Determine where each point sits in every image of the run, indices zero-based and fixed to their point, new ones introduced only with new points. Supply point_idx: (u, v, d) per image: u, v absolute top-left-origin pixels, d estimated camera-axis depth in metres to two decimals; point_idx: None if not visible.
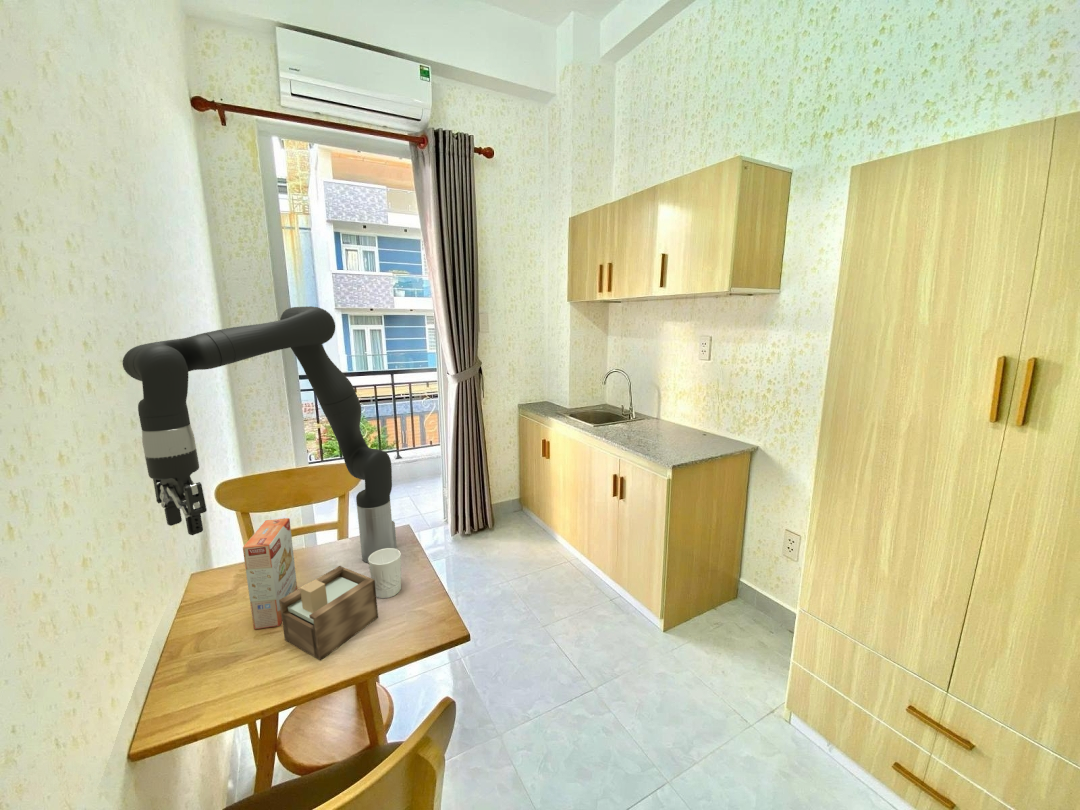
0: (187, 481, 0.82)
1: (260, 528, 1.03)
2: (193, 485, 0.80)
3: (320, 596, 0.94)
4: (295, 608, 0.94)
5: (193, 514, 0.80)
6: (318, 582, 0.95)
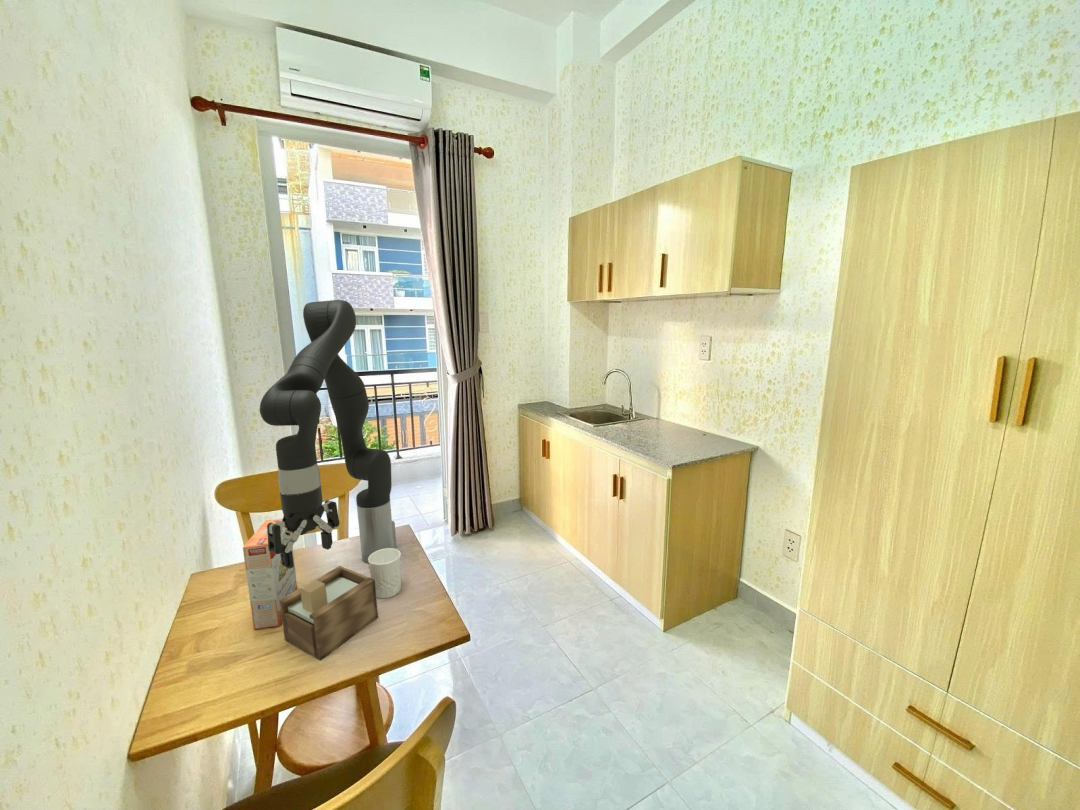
0: None
1: (260, 528, 1.03)
2: (332, 501, 0.96)
3: (320, 596, 0.94)
4: (295, 608, 0.94)
5: None
6: (318, 582, 0.95)
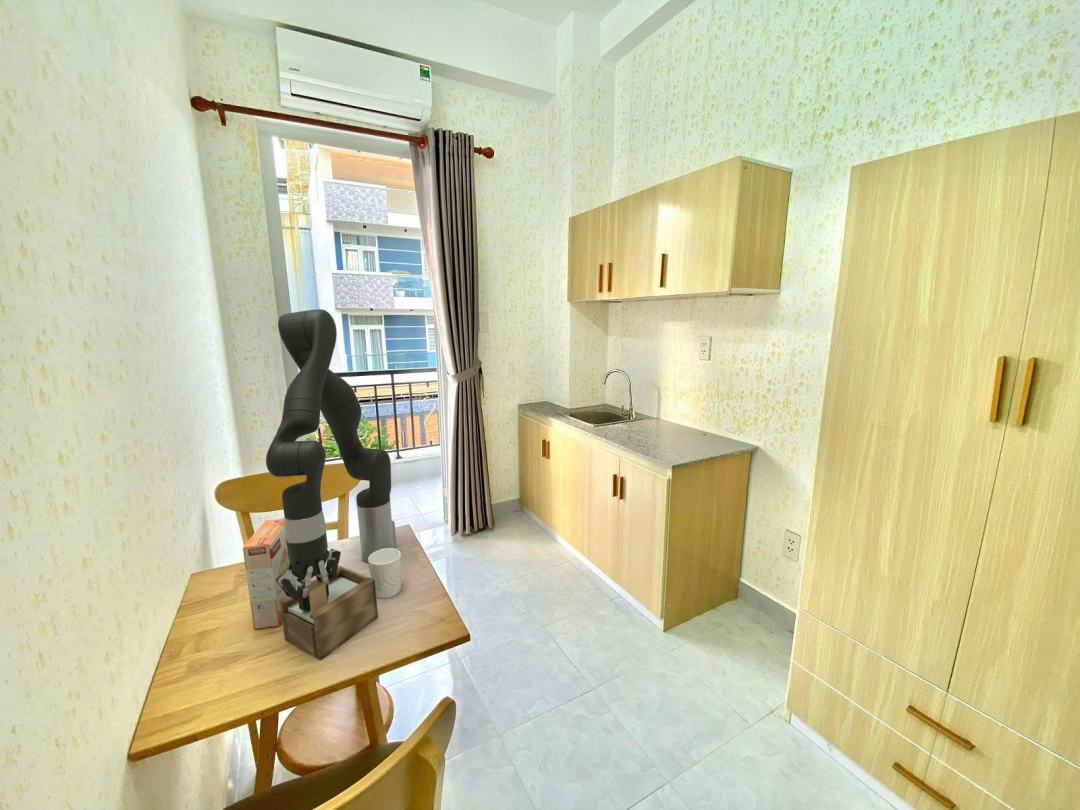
0: None
1: (260, 528, 1.03)
2: None
3: (320, 596, 0.94)
4: (295, 608, 0.94)
5: None
6: (318, 582, 0.95)
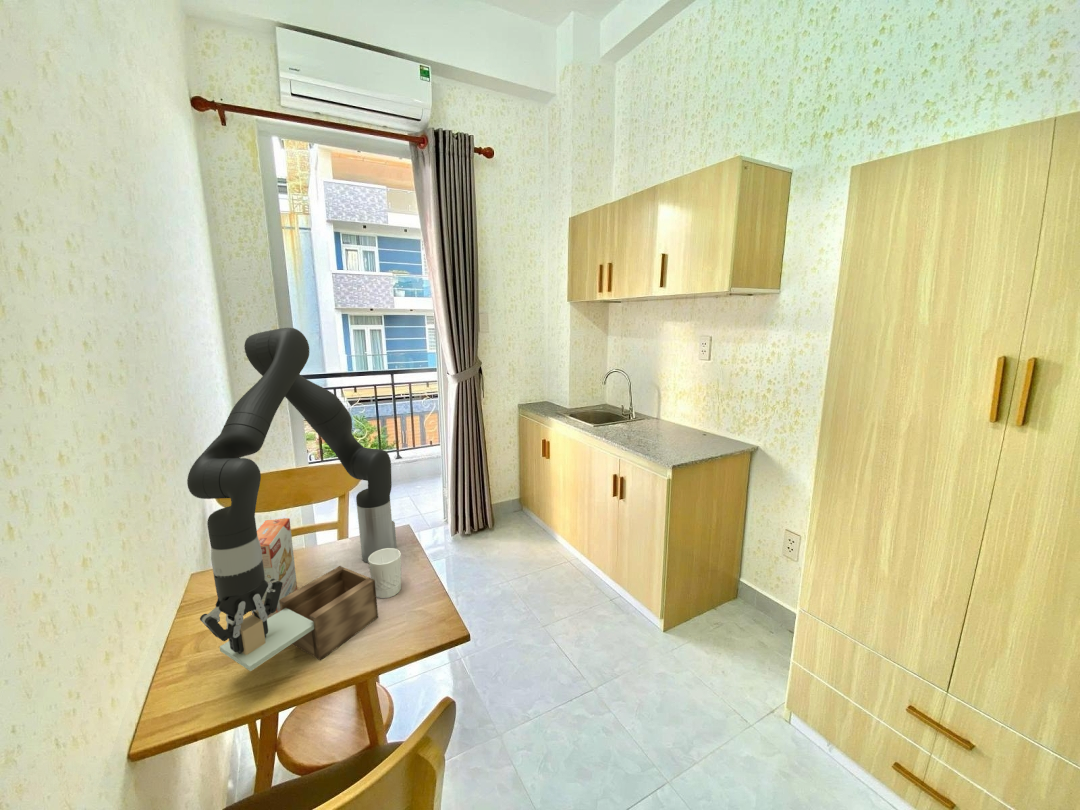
0: None
1: (260, 528, 1.03)
2: (278, 581, 0.87)
3: (256, 635, 0.82)
4: (228, 648, 0.82)
5: None
6: (255, 618, 0.83)
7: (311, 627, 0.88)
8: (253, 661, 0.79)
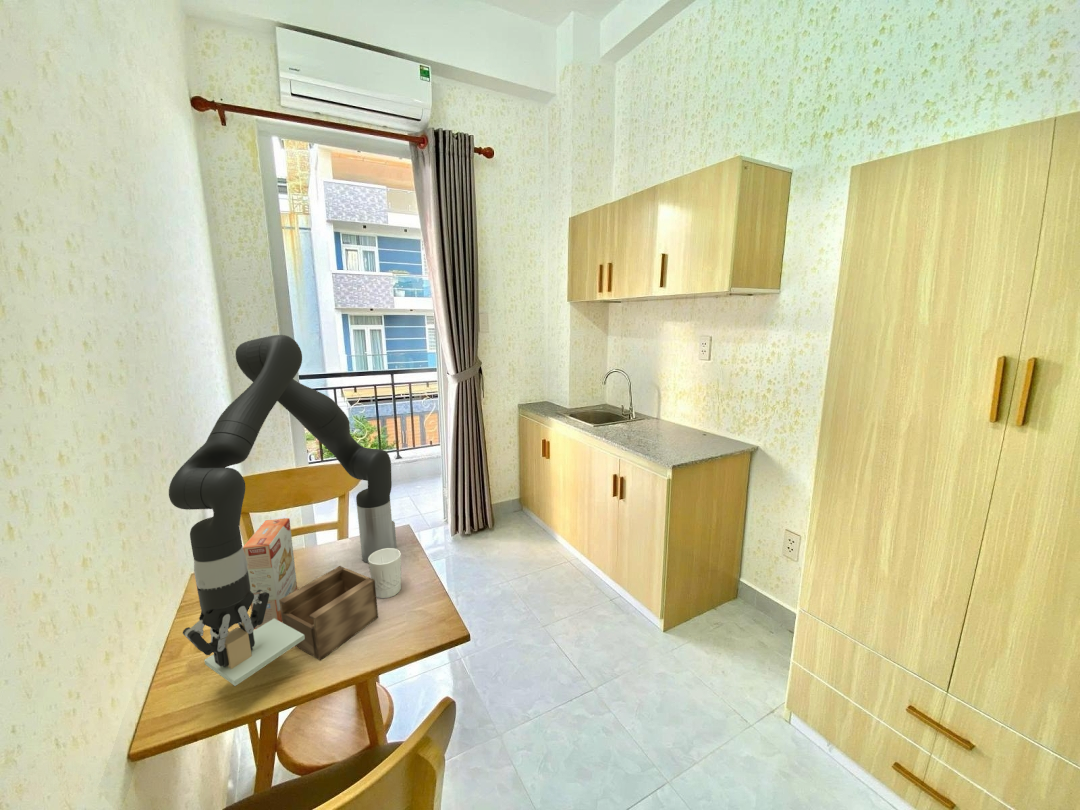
0: None
1: (260, 528, 1.03)
2: (265, 592, 0.85)
3: (241, 648, 0.80)
4: (212, 662, 0.80)
5: None
6: (240, 631, 0.81)
7: (299, 639, 0.86)
8: (238, 675, 0.77)
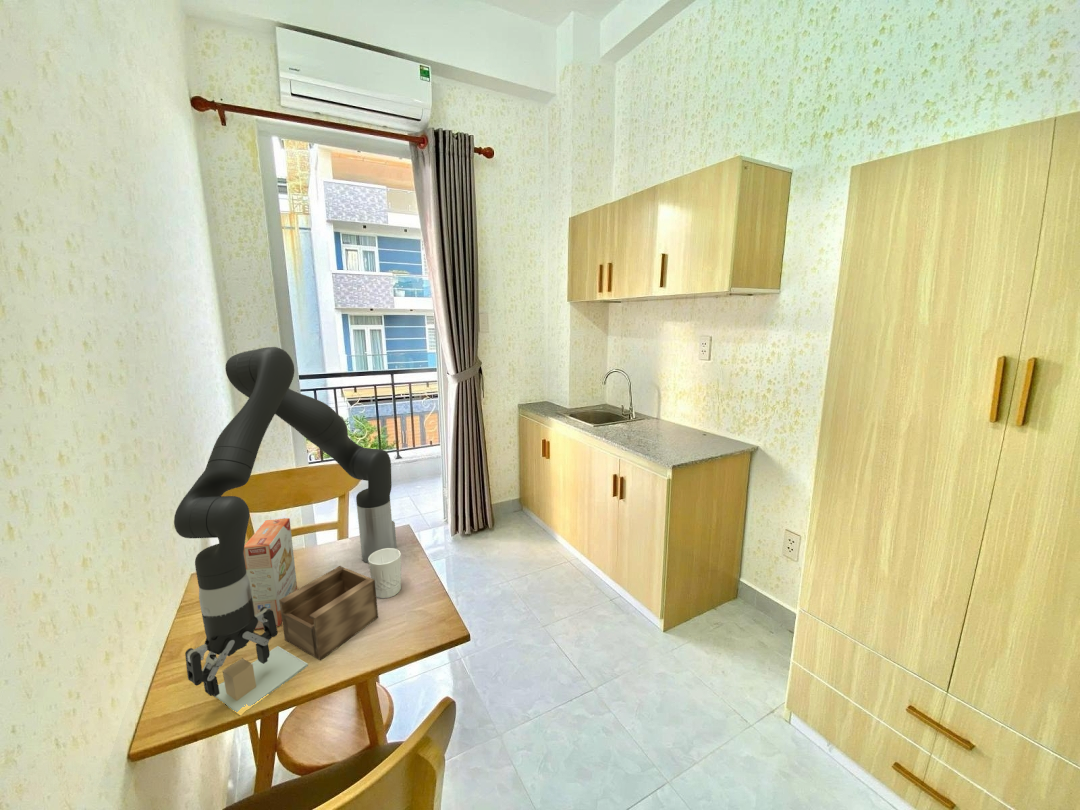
0: None
1: (260, 528, 1.03)
2: None
3: (246, 679, 0.81)
4: None
5: None
6: (245, 662, 0.82)
7: (303, 668, 0.88)
8: None
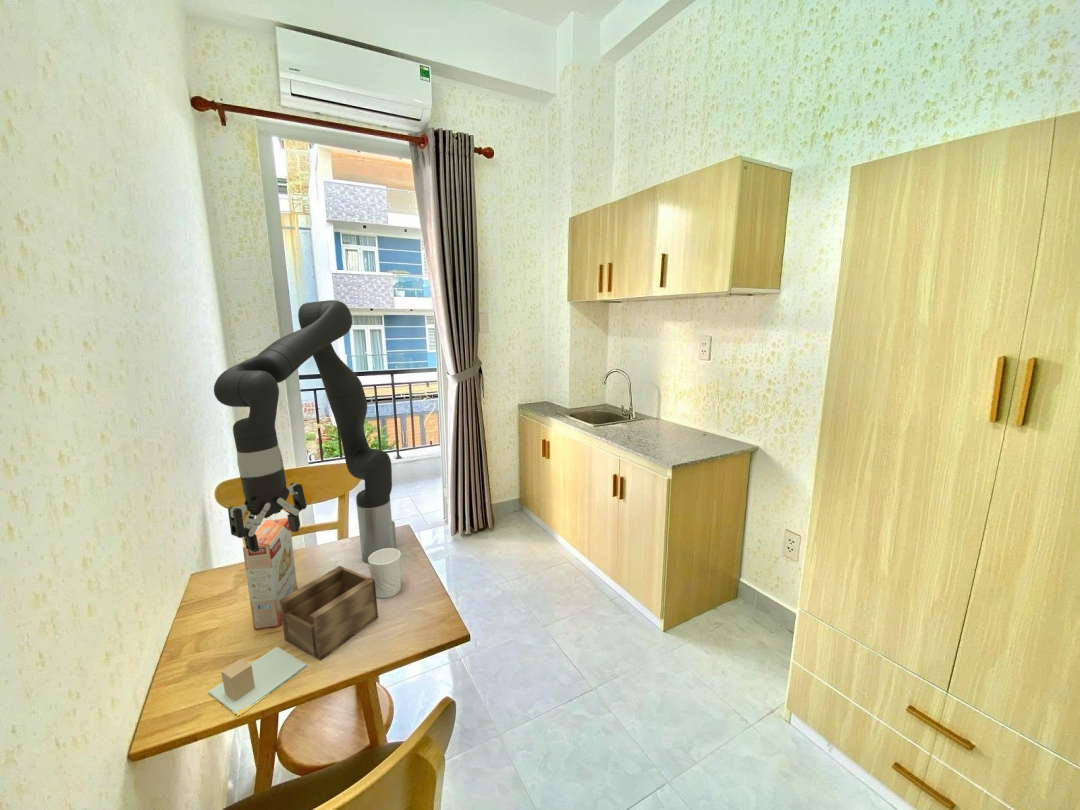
0: None
1: (260, 528, 1.03)
2: None
3: (245, 680, 0.81)
4: (216, 693, 0.81)
5: None
6: (244, 663, 0.82)
7: (301, 669, 0.87)
8: (242, 708, 0.78)
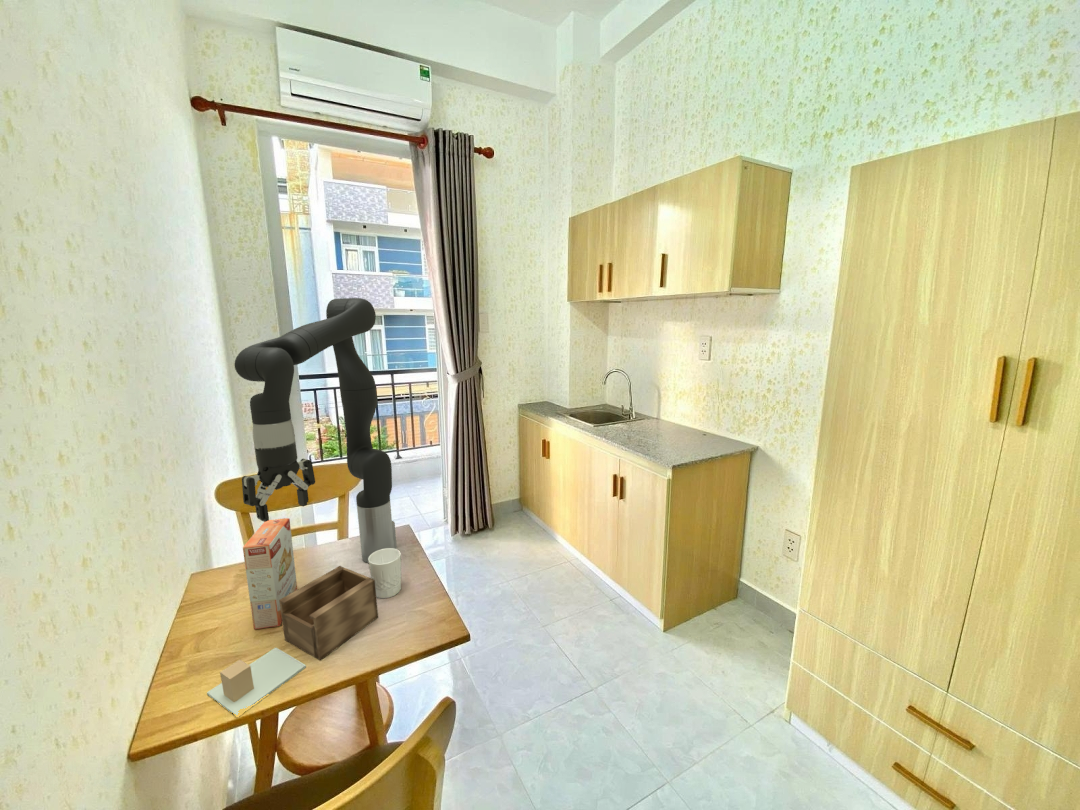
0: None
1: (260, 528, 1.03)
2: None
3: (244, 681, 0.81)
4: (215, 694, 0.81)
5: None
6: (243, 663, 0.82)
7: (301, 670, 0.87)
8: None
